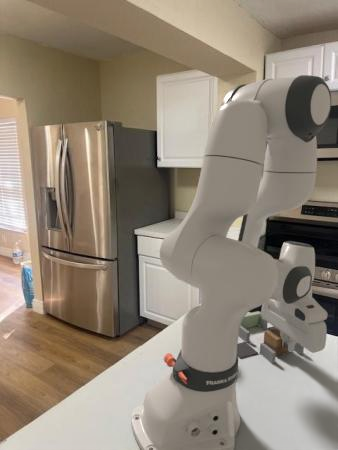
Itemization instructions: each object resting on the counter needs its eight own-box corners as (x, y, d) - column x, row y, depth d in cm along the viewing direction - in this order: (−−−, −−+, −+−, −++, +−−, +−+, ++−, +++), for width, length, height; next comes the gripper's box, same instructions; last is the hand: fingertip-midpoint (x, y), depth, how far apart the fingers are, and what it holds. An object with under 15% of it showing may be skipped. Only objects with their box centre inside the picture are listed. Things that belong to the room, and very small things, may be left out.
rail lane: (271, 363, 89) (273, 349, 88) (229, 328, 106) (230, 317, 105) (303, 354, 93) (304, 341, 92) (257, 322, 111) (258, 311, 110)
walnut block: (275, 356, 92) (276, 339, 91) (263, 346, 97) (264, 330, 96) (289, 352, 94) (290, 336, 93) (276, 343, 99) (278, 327, 98)
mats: (240, 358, 91) (240, 357, 91) (220, 340, 100) (220, 339, 100) (301, 341, 100) (301, 340, 100) (278, 326, 108) (278, 325, 108)
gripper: (257, 288, 96) (254, 332, 99) (313, 320, 78) (307, 373, 81) (275, 285, 99) (271, 328, 102) (333, 316, 80) (326, 367, 83)
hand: (287, 348), depth 91 cm, fingers closed
